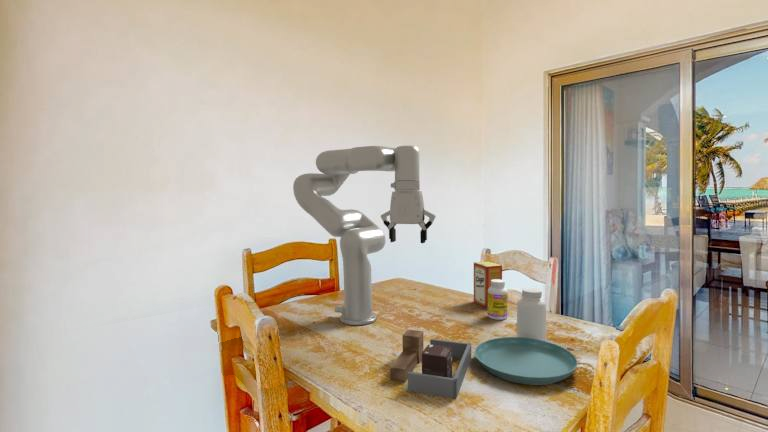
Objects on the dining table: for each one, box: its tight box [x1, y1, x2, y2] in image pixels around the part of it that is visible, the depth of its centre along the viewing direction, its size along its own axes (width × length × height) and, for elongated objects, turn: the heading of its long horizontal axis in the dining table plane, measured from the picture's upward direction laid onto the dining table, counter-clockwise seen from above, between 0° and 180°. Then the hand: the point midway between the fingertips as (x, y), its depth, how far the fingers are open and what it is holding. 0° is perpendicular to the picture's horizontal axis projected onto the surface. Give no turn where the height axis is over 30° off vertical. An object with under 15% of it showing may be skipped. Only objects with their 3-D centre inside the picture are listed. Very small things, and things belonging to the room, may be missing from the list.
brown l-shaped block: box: [389, 329, 424, 384], centre depth 100 cm, size 4×15×7 cm, turn 160°
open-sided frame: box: [407, 338, 472, 400], centre depth 97 cm, size 11×22×4 cm, turn 159°
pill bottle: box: [516, 287, 547, 342], centre depth 117 cm, size 8×8×15 cm
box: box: [421, 344, 453, 378], centre depth 94 cm, size 6×6×7 cm
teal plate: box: [474, 336, 579, 386], centre depth 101 cm, size 24×24×3 cm
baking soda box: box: [473, 261, 503, 309], centre depth 154 cm, size 10×6×16 cm
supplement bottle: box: [487, 279, 509, 321], centre depth 138 cm, size 7×7×13 cm
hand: (407, 242), depth 124 cm, fingers open, 9 cm apart
